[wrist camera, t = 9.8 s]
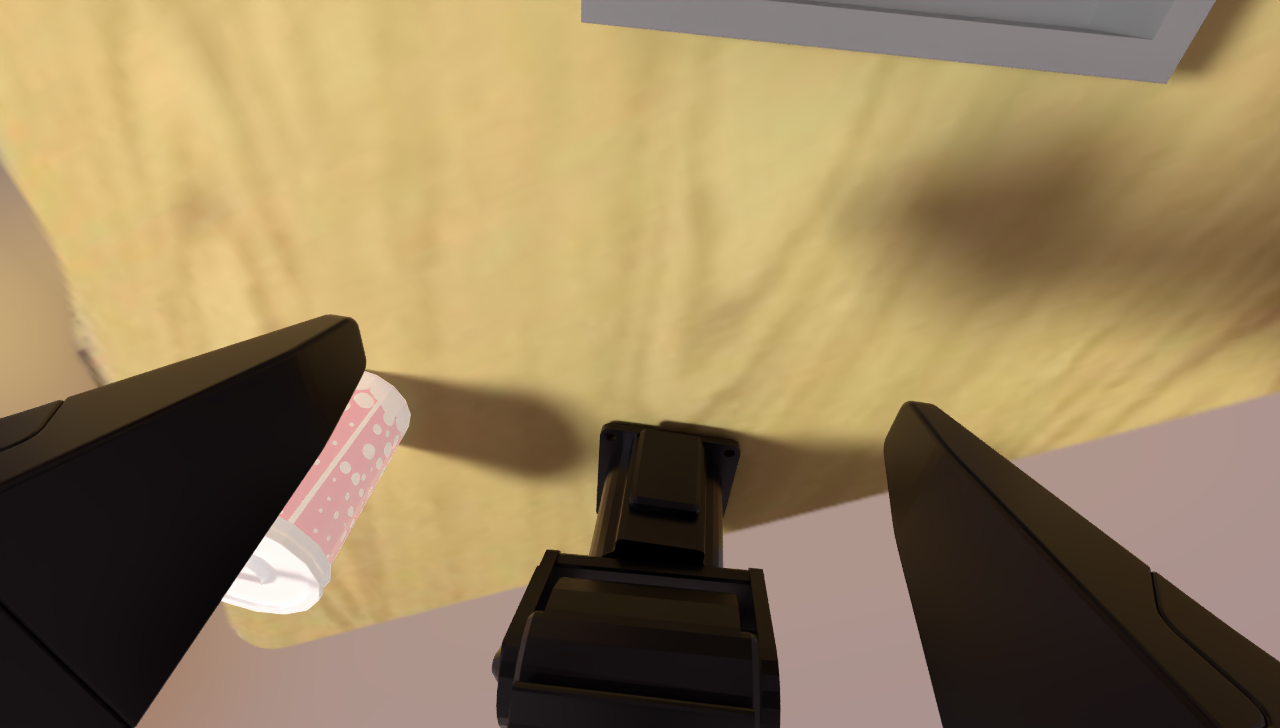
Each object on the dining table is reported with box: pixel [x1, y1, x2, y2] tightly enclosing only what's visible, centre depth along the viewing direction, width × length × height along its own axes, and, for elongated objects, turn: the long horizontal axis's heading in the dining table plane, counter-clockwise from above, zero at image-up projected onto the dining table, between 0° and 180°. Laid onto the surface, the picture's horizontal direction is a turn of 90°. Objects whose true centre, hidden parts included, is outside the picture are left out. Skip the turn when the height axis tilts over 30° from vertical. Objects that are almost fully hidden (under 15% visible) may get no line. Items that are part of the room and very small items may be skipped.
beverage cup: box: [221, 371, 411, 614], centre depth 21 cm, size 6×6×14 cm
